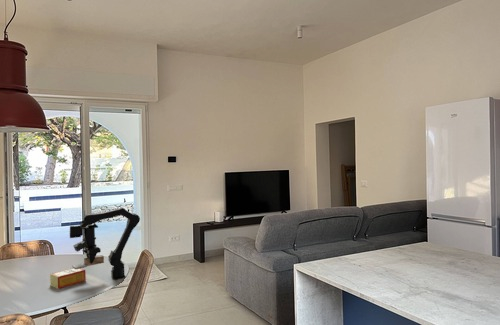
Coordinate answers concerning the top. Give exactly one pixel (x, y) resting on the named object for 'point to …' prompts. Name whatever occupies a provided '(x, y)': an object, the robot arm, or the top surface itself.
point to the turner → (86, 263)
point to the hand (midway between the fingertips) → (90, 263)
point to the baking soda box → (67, 277)
